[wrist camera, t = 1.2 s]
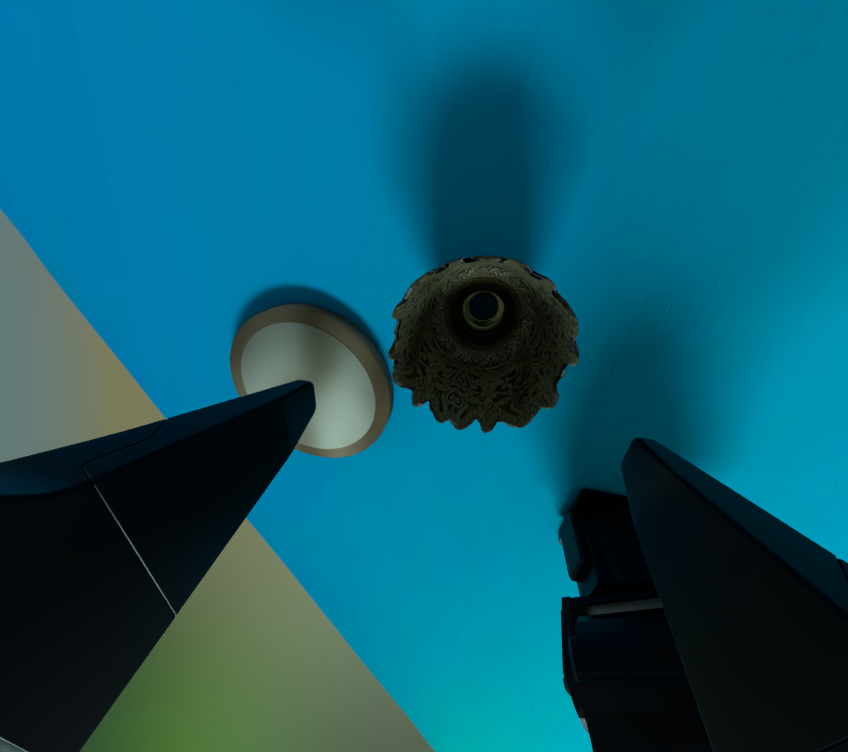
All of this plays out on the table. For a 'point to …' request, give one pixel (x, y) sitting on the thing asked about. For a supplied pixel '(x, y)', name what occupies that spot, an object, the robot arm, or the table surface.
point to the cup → (483, 343)
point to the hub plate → (317, 373)
